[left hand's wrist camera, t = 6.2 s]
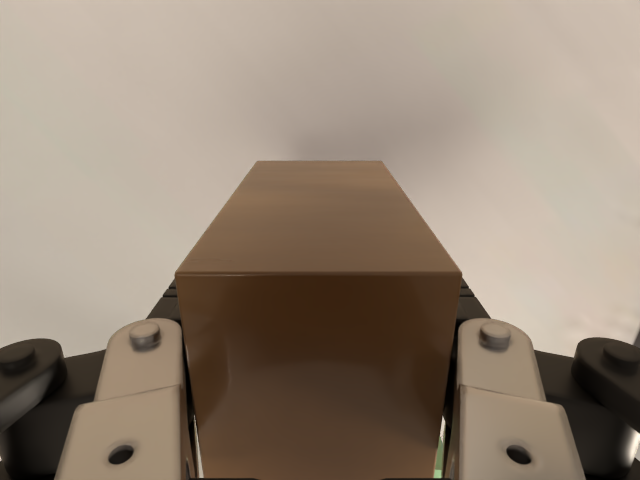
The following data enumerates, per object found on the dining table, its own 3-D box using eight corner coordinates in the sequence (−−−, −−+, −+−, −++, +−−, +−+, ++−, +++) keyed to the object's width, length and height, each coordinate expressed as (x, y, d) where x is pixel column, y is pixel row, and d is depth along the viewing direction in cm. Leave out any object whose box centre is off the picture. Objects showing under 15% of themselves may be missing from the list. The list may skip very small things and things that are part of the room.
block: (263, 287, 17) (205, 503, 8) (256, 160, 15) (172, 272, 6) (375, 287, 17) (431, 503, 8) (382, 160, 15) (463, 273, 6)
